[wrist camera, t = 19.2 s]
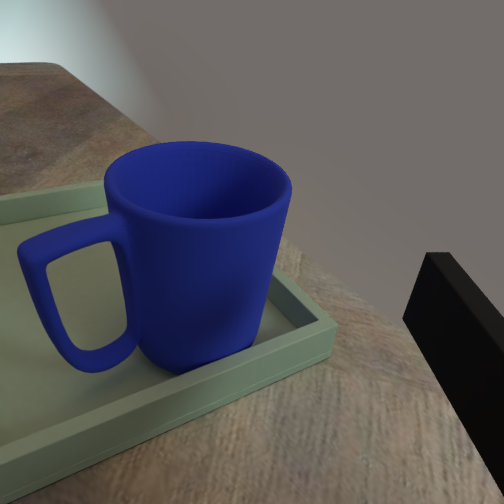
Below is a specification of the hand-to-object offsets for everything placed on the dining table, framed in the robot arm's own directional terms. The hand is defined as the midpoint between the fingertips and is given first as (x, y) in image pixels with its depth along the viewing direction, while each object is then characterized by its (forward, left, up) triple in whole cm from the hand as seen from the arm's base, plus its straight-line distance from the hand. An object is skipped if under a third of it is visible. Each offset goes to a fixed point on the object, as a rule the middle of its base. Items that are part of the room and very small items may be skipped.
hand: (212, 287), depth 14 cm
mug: (+7, -1, -10) cm, 12 cm away
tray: (+14, -1, -11) cm, 17 cm away
